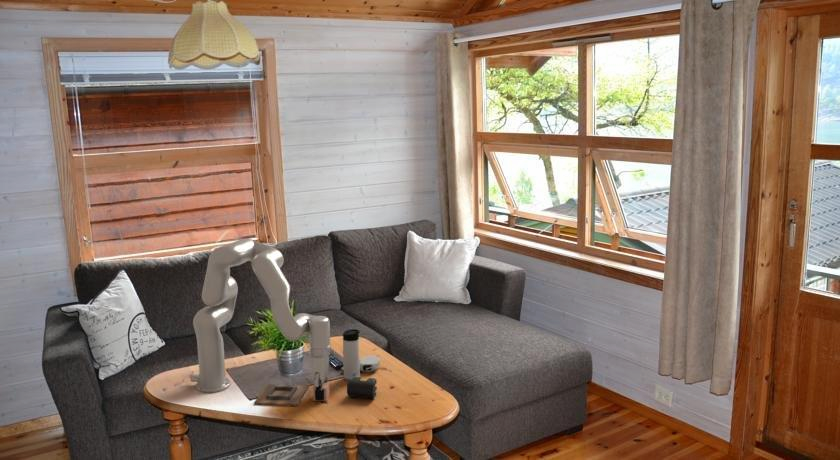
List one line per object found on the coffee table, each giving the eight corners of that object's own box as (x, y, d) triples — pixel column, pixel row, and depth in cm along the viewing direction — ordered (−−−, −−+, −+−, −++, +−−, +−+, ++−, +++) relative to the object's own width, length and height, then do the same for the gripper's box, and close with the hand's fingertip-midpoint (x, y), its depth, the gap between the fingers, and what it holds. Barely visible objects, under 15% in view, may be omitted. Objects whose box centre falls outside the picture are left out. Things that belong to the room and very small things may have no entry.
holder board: (254, 404, 250) (253, 399, 249) (268, 386, 265) (267, 381, 265) (297, 406, 248) (297, 401, 248) (308, 387, 264) (308, 382, 263)
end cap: (346, 400, 253) (346, 383, 252) (352, 392, 260) (351, 375, 259) (373, 402, 251) (372, 384, 250) (377, 394, 258) (377, 377, 257)
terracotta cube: (313, 400, 253) (312, 387, 252) (316, 394, 258) (316, 382, 257) (326, 400, 252) (326, 388, 252) (329, 395, 257) (329, 382, 256)
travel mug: (358, 382, 268) (357, 333, 264) (341, 381, 270) (340, 332, 266) (362, 376, 274) (361, 328, 270) (346, 374, 276) (345, 327, 272)
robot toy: (340, 376, 276) (377, 375, 275) (339, 365, 276) (376, 364, 274) (346, 364, 288) (382, 363, 287) (345, 354, 288) (381, 353, 286)
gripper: (315, 341, 260) (317, 386, 264) (303, 358, 244) (305, 406, 247) (335, 342, 259) (336, 387, 263) (324, 359, 243) (326, 407, 246)
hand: (321, 395), depth 255 cm, fingers closed on terracotta cube, 4 cm apart
